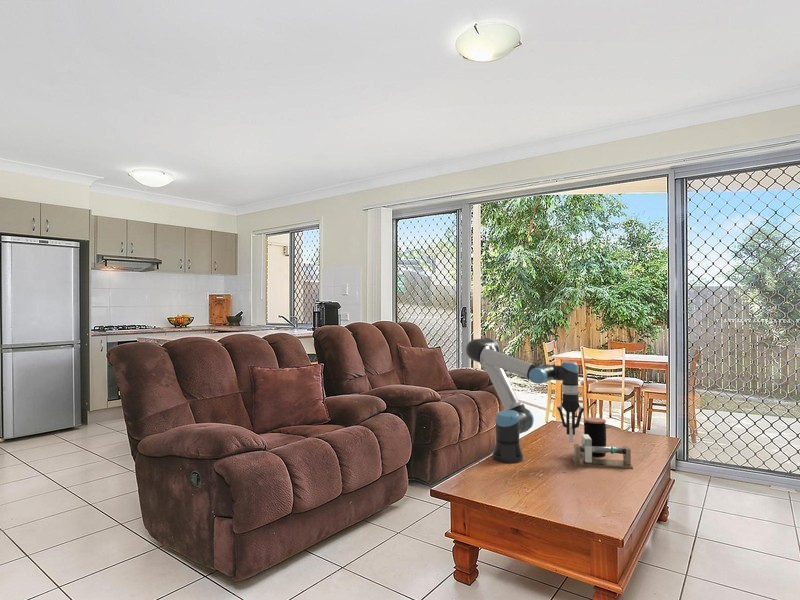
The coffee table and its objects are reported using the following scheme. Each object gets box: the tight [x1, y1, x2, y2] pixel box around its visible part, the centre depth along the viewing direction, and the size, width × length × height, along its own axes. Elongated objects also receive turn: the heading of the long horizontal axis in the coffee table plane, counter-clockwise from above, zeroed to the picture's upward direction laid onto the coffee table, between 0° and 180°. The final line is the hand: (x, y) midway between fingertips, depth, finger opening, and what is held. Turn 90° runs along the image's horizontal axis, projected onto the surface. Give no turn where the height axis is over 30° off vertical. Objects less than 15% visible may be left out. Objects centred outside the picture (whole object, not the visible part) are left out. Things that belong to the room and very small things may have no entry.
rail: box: [572, 443, 634, 470], centre depth 248 cm, size 26×10×9 cm, turn 79°
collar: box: [581, 433, 593, 462], centre depth 250 cm, size 3×10×11 cm, turn 169°
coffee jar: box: [583, 416, 607, 458], centre depth 265 cm, size 11×11×18 cm
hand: (570, 441), depth 251 cm, fingers closed
